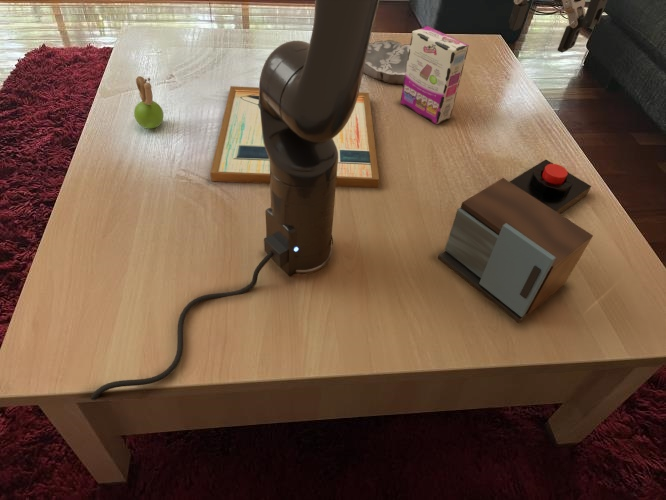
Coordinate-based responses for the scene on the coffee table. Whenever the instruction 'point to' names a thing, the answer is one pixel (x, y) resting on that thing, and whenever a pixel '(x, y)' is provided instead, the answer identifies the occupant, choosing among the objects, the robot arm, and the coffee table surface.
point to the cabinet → (527, 218)
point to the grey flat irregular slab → (387, 61)
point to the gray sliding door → (516, 269)
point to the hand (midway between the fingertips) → (538, 39)
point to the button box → (551, 188)
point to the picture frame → (252, 159)
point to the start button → (554, 174)
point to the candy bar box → (433, 73)
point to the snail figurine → (147, 106)
